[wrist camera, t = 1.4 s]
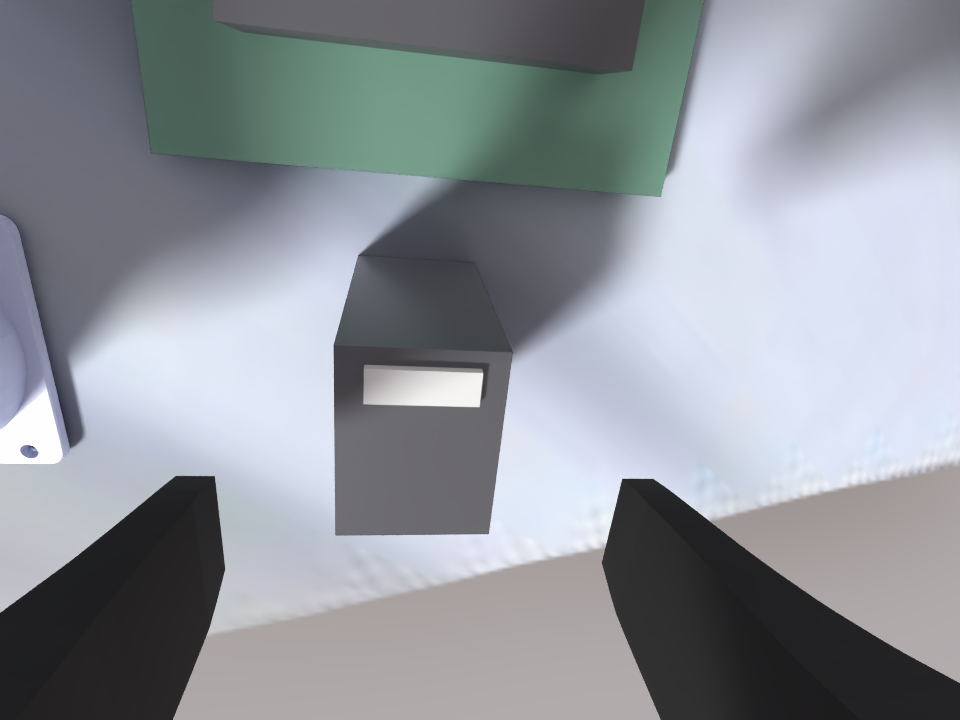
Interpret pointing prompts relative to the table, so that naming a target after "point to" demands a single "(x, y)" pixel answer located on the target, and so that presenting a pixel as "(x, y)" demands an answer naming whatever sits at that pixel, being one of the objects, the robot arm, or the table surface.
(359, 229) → the table surface
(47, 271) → the table surface
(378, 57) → the board
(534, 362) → the table surface
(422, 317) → the plug
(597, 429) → the table surface
